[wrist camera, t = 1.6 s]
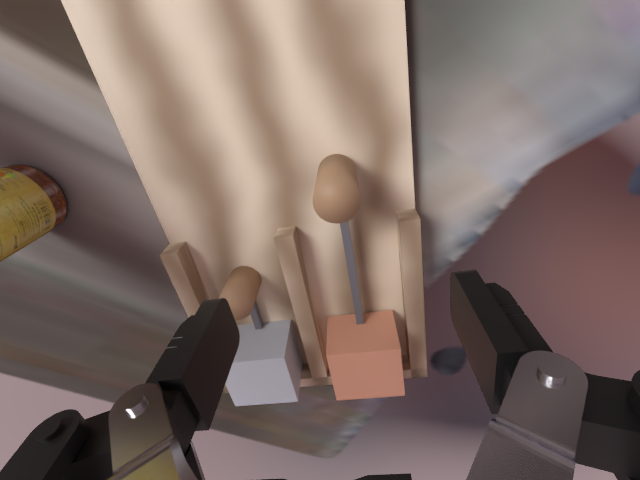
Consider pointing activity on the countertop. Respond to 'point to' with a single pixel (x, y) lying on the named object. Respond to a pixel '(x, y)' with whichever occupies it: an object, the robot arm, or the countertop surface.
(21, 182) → the sauce bottle
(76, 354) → the countertop surface
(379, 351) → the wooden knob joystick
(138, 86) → the wooden backboard
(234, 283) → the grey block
